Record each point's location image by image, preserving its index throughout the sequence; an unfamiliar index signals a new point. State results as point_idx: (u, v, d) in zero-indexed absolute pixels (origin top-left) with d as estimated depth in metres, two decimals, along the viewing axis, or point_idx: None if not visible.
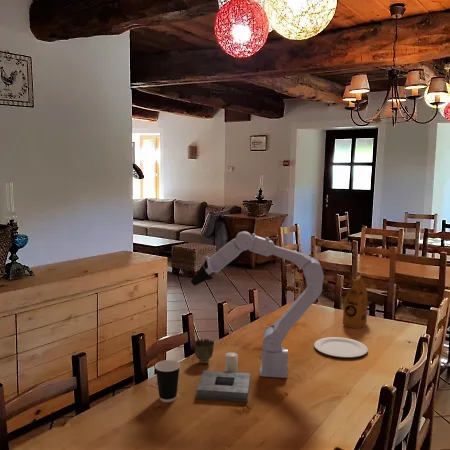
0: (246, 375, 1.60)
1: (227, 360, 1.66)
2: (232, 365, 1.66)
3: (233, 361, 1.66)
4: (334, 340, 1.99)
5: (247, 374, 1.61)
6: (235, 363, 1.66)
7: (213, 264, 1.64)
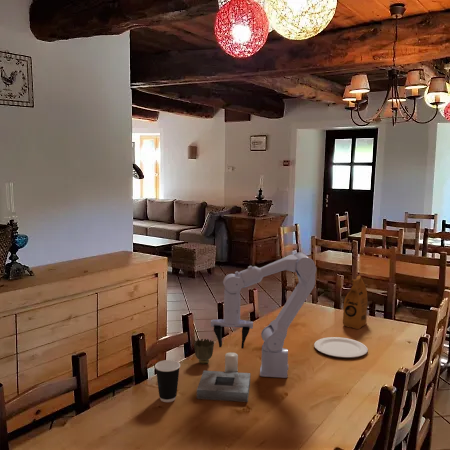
0: (246, 375, 1.60)
1: (227, 360, 1.66)
2: (232, 365, 1.66)
3: (233, 361, 1.66)
4: (334, 340, 1.99)
5: (247, 374, 1.61)
6: (235, 363, 1.66)
7: (239, 320, 1.65)
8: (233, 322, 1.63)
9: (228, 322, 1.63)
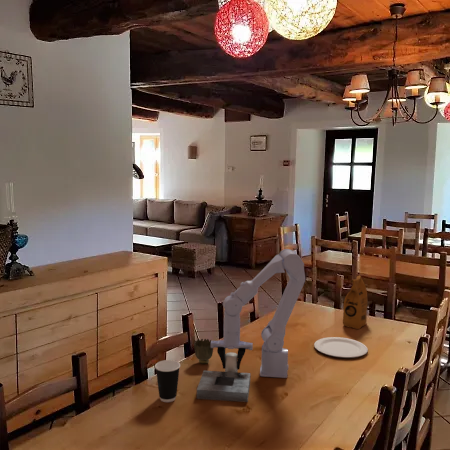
0: (246, 375, 1.60)
1: (227, 360, 1.66)
2: (232, 365, 1.66)
3: (233, 361, 1.66)
4: (334, 340, 1.99)
5: (247, 374, 1.61)
6: (235, 363, 1.66)
7: (239, 342, 1.66)
8: (233, 344, 1.64)
9: (228, 344, 1.64)
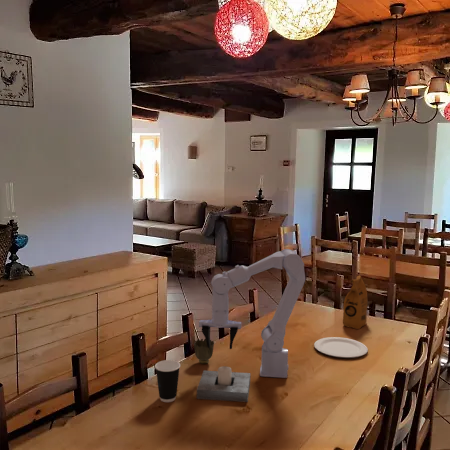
0: (246, 375, 1.60)
1: (220, 375, 1.55)
2: (226, 381, 1.54)
3: (227, 375, 1.54)
4: (334, 340, 1.99)
5: (247, 374, 1.61)
6: (228, 378, 1.55)
7: (228, 321, 1.65)
8: (221, 322, 1.63)
9: (216, 322, 1.63)
